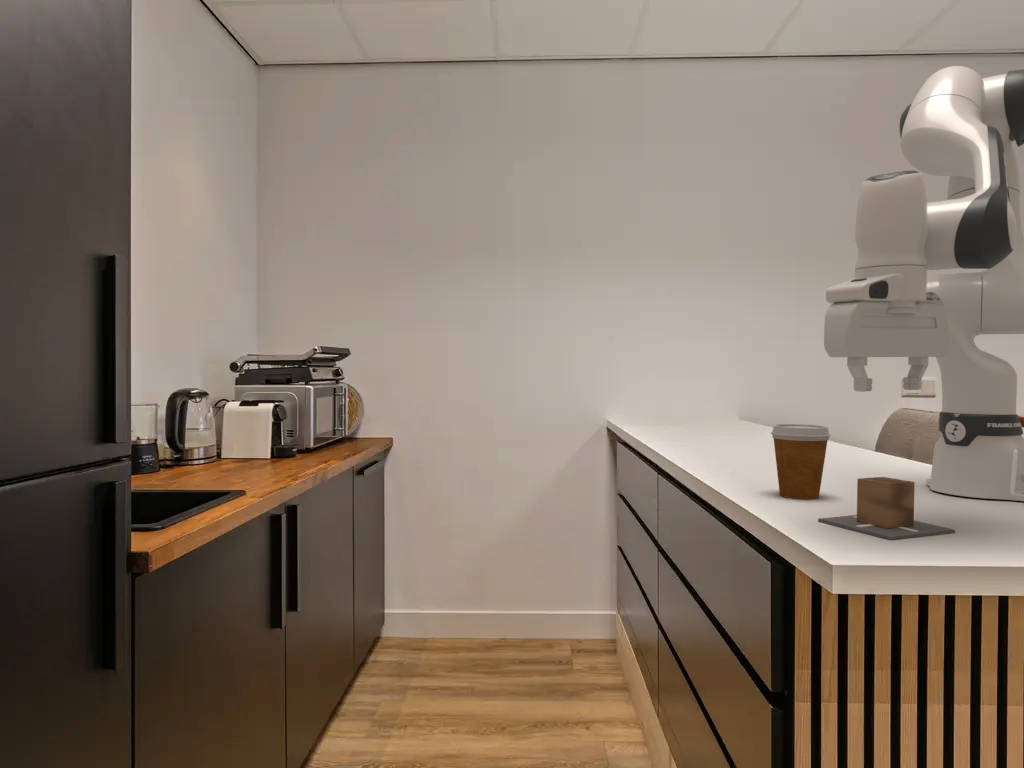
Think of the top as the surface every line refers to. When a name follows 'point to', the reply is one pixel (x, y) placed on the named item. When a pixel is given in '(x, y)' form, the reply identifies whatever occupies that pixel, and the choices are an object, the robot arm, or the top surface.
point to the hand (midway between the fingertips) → (887, 390)
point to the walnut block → (885, 502)
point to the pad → (890, 533)
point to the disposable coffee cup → (800, 459)
